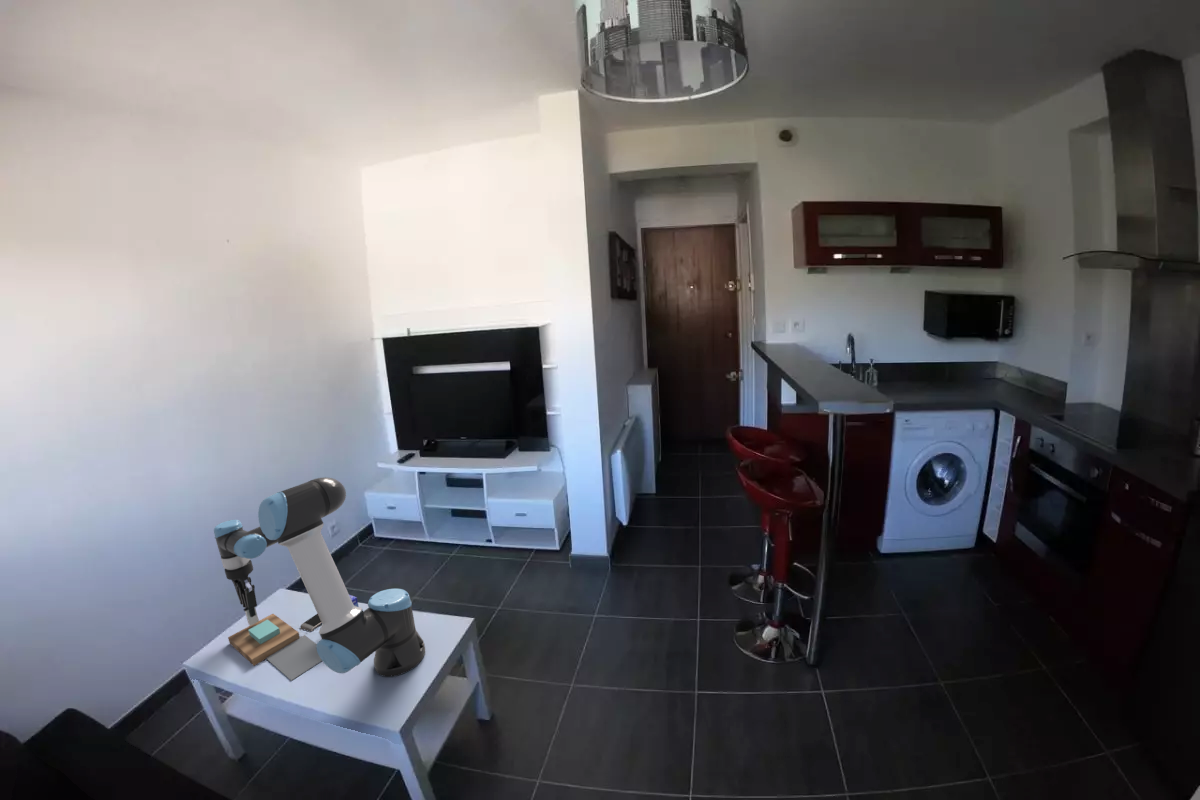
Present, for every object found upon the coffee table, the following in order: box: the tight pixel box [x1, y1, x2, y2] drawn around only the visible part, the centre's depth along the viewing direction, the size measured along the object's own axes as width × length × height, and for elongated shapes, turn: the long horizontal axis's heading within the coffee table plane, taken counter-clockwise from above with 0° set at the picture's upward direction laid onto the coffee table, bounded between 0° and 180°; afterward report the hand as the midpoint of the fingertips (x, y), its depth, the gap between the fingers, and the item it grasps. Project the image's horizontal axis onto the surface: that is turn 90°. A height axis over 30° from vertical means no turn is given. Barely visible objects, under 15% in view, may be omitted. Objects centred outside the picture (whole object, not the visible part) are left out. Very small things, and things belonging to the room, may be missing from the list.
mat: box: [265, 634, 323, 682], centre depth 153 cm, size 18×12×1 cm, turn 56°
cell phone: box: [300, 612, 322, 633], centre depth 171 cm, size 6×11×1 cm, turn 156°
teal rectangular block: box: [248, 620, 280, 644], centre depth 162 cm, size 9×6×2 cm, turn 56°
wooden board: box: [227, 613, 300, 667], centre depth 162 cm, size 20×14×2 cm
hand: (253, 622), depth 166 cm, fingers closed
